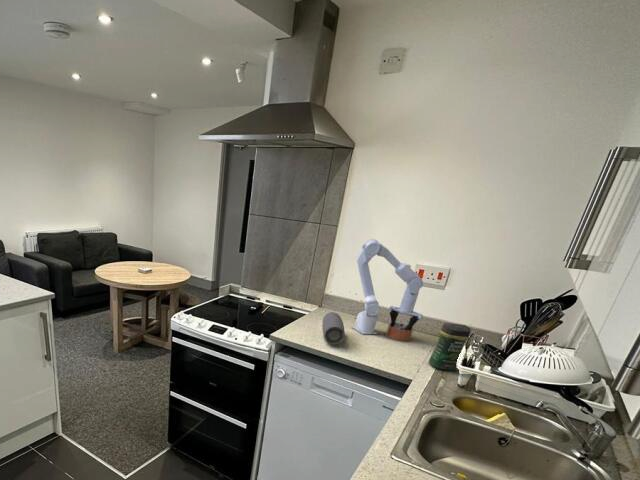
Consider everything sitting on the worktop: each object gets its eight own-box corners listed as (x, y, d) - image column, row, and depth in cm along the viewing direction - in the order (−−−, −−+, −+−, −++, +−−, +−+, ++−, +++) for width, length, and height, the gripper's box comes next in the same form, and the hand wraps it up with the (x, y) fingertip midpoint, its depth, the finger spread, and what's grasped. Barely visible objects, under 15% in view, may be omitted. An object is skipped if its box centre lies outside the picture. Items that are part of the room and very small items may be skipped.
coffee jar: (434, 370, 156) (450, 326, 149) (425, 361, 163) (440, 319, 156) (459, 372, 156) (476, 329, 148) (448, 364, 163) (464, 322, 156)
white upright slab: (390, 332, 192) (395, 317, 189) (392, 332, 193) (397, 317, 189) (404, 338, 186) (409, 322, 183) (406, 337, 187) (411, 321, 184)
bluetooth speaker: (319, 329, 192) (323, 309, 188) (339, 332, 190) (344, 312, 186) (320, 345, 172) (325, 323, 168) (342, 348, 170) (348, 327, 166)
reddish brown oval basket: (407, 343, 183) (411, 332, 181) (383, 336, 189) (386, 326, 186) (412, 335, 194) (416, 325, 191) (389, 330, 199) (392, 319, 197)
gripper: (389, 298, 185) (381, 325, 191) (421, 306, 175) (412, 335, 181) (396, 296, 189) (388, 323, 195) (427, 304, 180) (418, 332, 185)
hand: (400, 328), depth 188 cm, fingers closed on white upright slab, 7 cm apart
